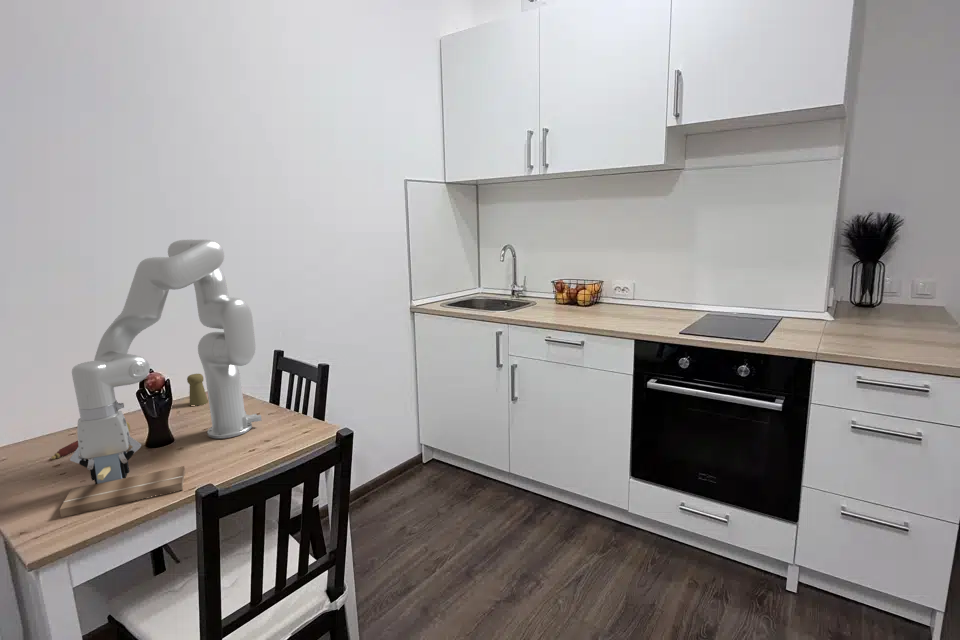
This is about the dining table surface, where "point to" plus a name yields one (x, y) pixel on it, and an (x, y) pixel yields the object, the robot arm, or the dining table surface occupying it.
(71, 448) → the gavel
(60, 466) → the dining table surface
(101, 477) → the blue block with stick
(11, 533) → the dining table surface
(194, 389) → the cork
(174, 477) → the board
